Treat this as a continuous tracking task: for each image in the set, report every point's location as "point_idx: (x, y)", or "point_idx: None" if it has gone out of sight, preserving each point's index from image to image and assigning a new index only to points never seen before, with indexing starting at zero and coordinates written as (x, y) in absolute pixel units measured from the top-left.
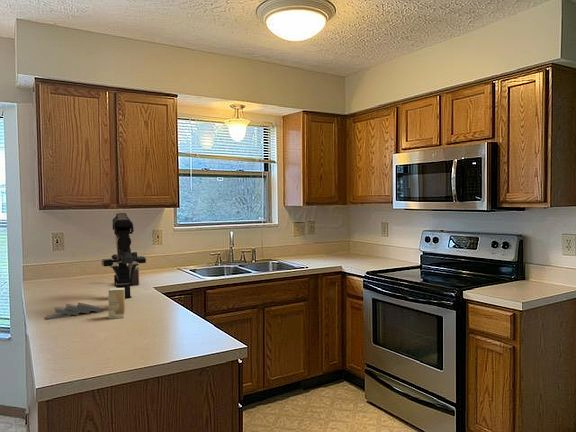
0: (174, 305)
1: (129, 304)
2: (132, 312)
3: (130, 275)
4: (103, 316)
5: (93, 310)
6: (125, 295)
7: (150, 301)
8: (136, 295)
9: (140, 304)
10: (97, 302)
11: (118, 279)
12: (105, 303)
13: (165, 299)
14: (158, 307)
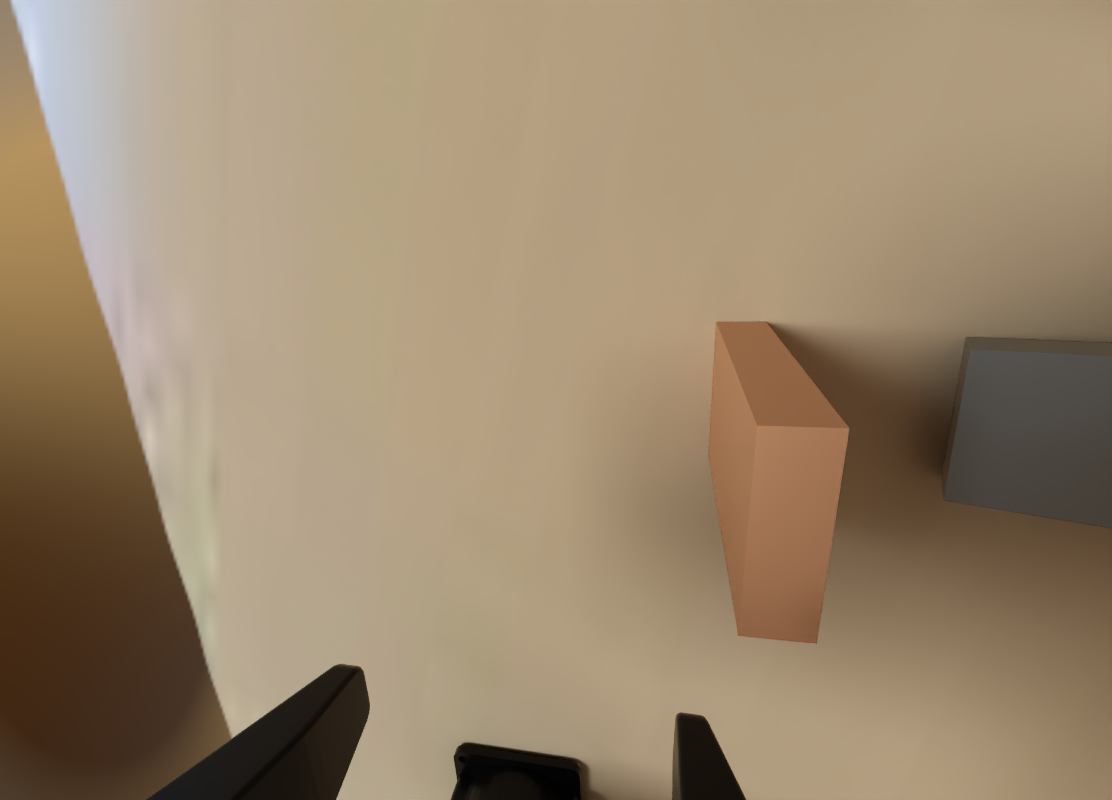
0: (71, 126)
1: (530, 509)
2: (594, 32)
3: (284, 750)
4: (1053, 15)
5: (1099, 342)
6: (503, 784)
7: (312, 497)
8: (404, 789)
9: (423, 433)
10: (792, 790)
11: (705, 736)
12: (738, 706)
13: (170, 484)
14: (249, 135)
